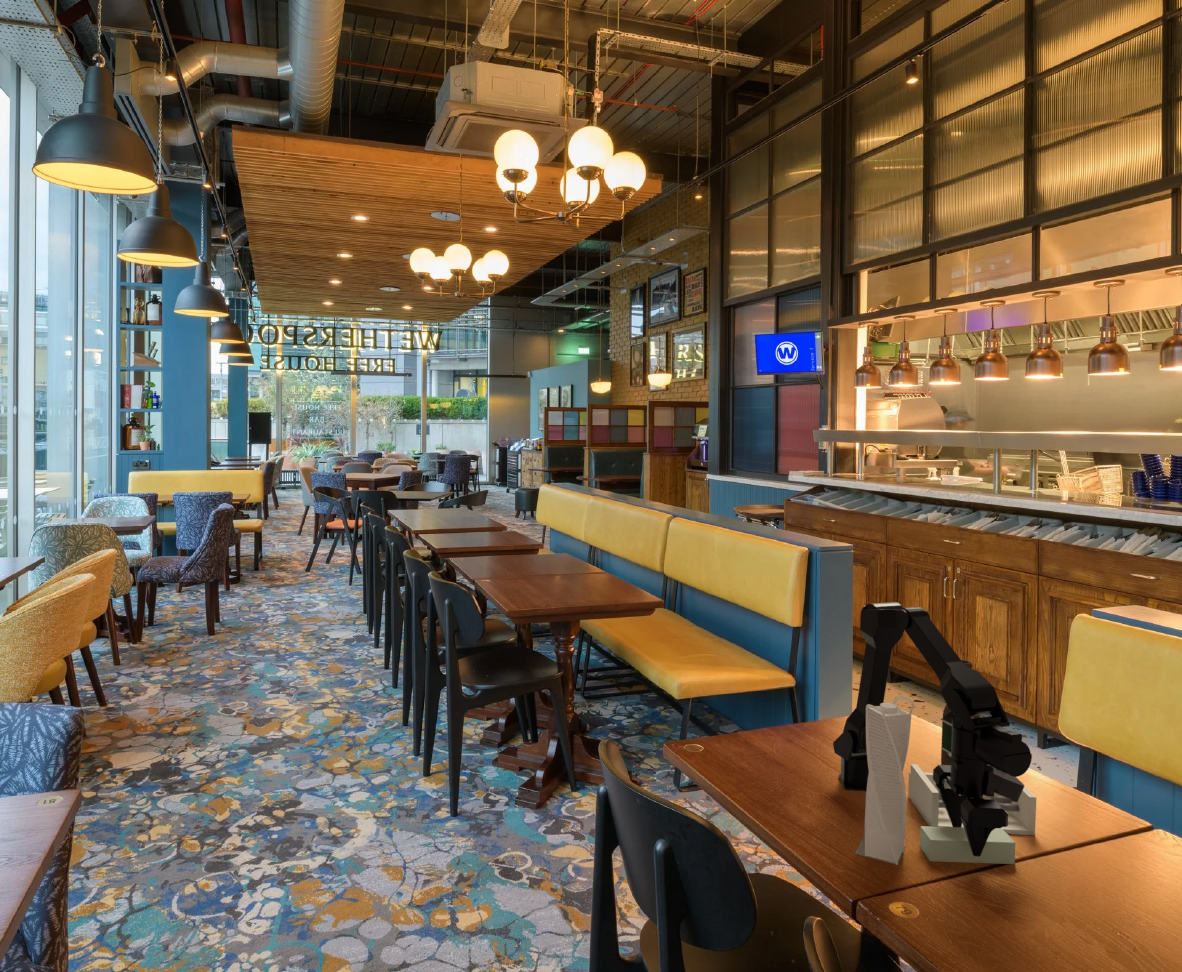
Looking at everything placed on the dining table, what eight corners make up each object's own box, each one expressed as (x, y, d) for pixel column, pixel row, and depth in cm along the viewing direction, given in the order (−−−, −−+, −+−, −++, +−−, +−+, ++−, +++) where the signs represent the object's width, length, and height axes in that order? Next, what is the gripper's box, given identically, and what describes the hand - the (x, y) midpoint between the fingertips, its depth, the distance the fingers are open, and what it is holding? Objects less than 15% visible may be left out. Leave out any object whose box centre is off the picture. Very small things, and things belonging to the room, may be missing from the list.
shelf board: (930, 862, 138) (930, 839, 138) (919, 848, 143) (920, 826, 143) (1014, 865, 137) (1015, 842, 137) (1001, 851, 142) (1002, 828, 142)
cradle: (931, 829, 149) (932, 792, 149) (908, 796, 164) (909, 761, 163) (1035, 835, 148) (1036, 797, 147) (1002, 800, 162) (1003, 766, 162)
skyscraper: (914, 851, 142) (918, 693, 141) (905, 872, 135) (910, 706, 134) (864, 839, 146) (868, 685, 145) (853, 858, 139) (858, 697, 138)
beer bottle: (983, 779, 172) (987, 667, 171) (944, 775, 174) (948, 665, 173) (974, 765, 180) (978, 657, 179) (936, 762, 182) (940, 655, 180)
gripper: (1043, 778, 129) (1040, 873, 130) (996, 736, 148) (993, 820, 149) (970, 774, 130) (967, 869, 131) (933, 733, 149) (930, 817, 150)
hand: (966, 842), depth 140 cm, fingers open, 9 cm apart
